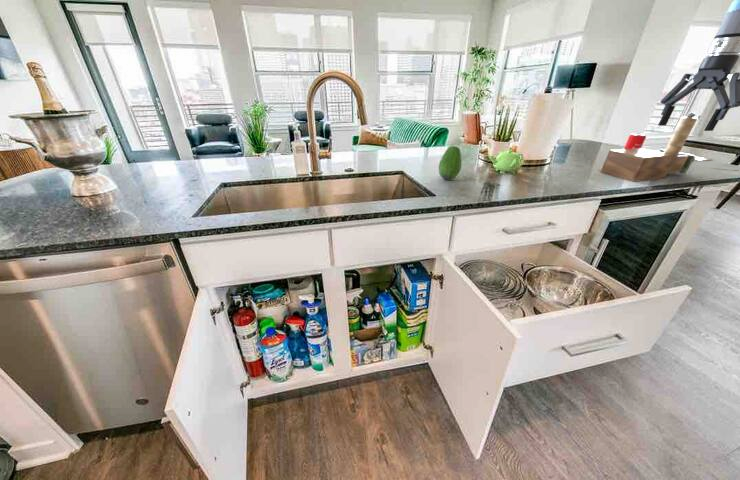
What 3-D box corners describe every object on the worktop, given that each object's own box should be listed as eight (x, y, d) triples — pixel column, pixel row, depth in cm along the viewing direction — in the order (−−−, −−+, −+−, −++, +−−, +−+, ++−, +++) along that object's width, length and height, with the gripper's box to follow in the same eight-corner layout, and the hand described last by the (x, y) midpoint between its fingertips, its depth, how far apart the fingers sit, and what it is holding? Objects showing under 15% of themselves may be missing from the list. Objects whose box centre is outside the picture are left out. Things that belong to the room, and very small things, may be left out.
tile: (694, 157, 127) (695, 156, 126) (712, 161, 120) (712, 159, 120) (680, 157, 126) (681, 156, 126) (697, 161, 120) (698, 160, 120)
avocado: (459, 183, 97) (464, 148, 91) (436, 181, 99) (440, 147, 93) (459, 176, 103) (464, 143, 97) (438, 175, 105) (441, 143, 99)
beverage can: (631, 163, 119) (645, 133, 113) (634, 165, 115) (648, 135, 109) (616, 161, 121) (629, 132, 115) (618, 164, 117) (631, 134, 111)
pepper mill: (668, 169, 103) (699, 112, 94) (670, 171, 101) (702, 113, 91) (654, 167, 106) (683, 111, 96) (656, 169, 103) (685, 112, 93)
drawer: (661, 165, 112) (670, 148, 109) (695, 172, 102) (705, 154, 99) (626, 168, 109) (634, 150, 105) (657, 176, 99) (667, 157, 96)
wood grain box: (629, 169, 110) (639, 148, 106) (664, 178, 100) (676, 155, 95) (600, 172, 107) (609, 150, 103) (632, 181, 97) (644, 157, 93)
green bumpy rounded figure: (525, 171, 109) (531, 149, 105) (513, 177, 102) (519, 154, 98) (497, 166, 116) (501, 145, 112) (485, 171, 109) (489, 150, 105)
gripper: (667, 58, 95) (637, 123, 106) (772, 50, 74) (722, 133, 85) (683, 58, 97) (653, 123, 107) (791, 51, 75) (739, 132, 86)
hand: (683, 127), depth 96 cm, fingers open, 13 cm apart
